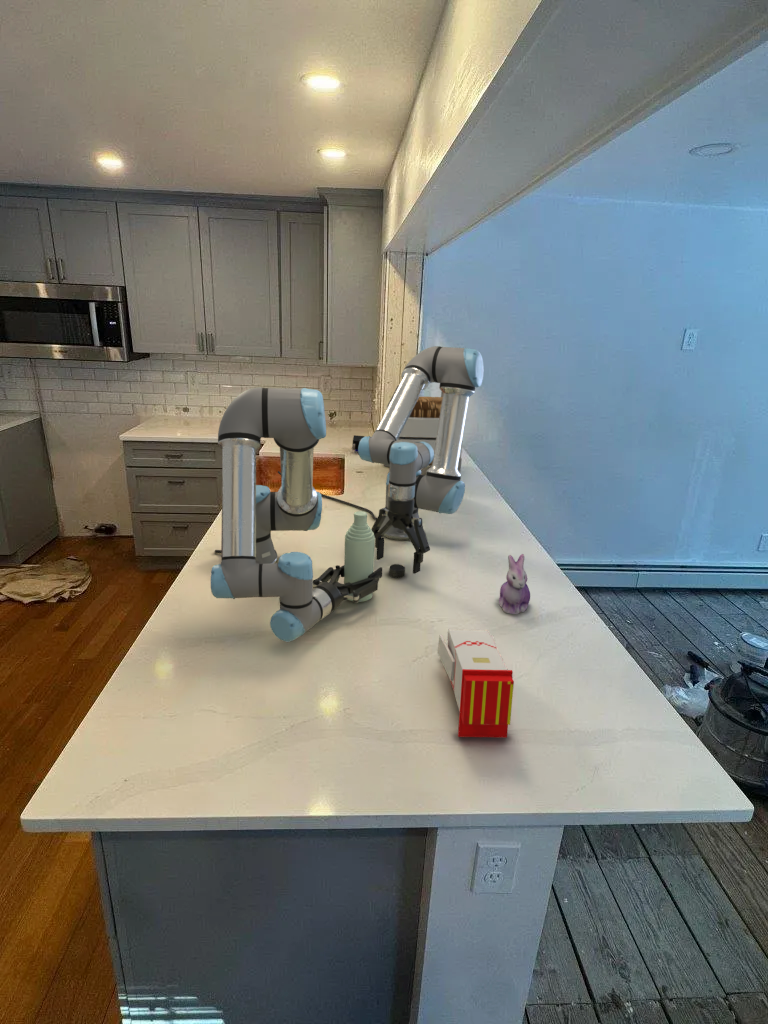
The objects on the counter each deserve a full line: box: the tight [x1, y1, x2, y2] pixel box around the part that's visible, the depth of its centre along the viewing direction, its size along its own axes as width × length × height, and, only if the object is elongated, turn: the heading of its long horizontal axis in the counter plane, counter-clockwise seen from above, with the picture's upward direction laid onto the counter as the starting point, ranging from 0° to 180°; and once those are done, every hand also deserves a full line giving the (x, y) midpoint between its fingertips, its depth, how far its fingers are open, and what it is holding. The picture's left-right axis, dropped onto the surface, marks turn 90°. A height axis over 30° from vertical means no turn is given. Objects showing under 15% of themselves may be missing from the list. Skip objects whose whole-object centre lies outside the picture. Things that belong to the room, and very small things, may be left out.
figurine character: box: [351, 435, 365, 454], centre depth 310 cm, size 7×8×15 cm
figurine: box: [498, 553, 531, 615], centre depth 151 cm, size 9×10×15 cm
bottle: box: [343, 510, 375, 603], centre depth 152 cm, size 8×8×24 cm
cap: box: [388, 563, 406, 579], centre depth 169 cm, size 5×5×2 cm
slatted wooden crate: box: [383, 384, 465, 475], centre depth 268 cm, size 34×33×41 cm
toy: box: [437, 628, 515, 738], centre depth 117 cm, size 12×13×30 cm
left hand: (367, 568), depth 158 cm, fingers closed on bottle, 8 cm apart
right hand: (397, 565), depth 168 cm, fingers open, 13 cm apart
